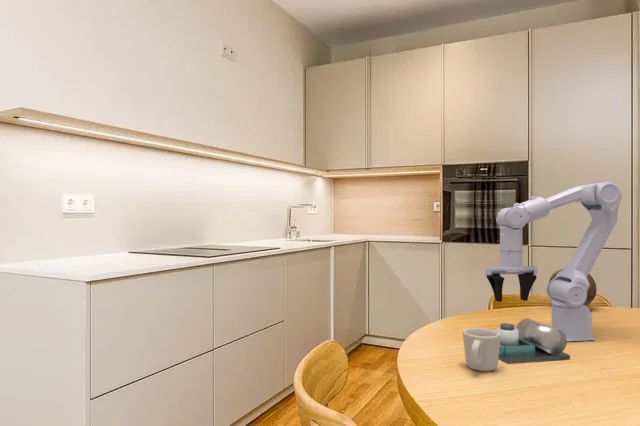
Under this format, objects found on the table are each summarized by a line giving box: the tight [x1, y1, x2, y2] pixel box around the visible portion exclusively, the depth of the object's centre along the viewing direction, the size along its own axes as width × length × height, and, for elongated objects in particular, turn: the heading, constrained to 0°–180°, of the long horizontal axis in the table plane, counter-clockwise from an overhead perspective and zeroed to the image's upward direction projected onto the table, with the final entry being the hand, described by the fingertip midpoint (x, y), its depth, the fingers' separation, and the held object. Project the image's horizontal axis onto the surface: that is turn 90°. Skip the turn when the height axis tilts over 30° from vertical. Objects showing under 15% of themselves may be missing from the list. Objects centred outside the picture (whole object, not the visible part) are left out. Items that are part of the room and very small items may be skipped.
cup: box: [462, 327, 501, 372], centre depth 99 cm, size 11×8×8 cm
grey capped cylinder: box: [495, 322, 519, 346], centre depth 110 cm, size 5×5×6 cm
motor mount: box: [498, 318, 571, 365], centre depth 110 cm, size 16×13×7 cm
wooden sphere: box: [548, 266, 598, 307], centre depth 160 cm, size 15×15×15 cm
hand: (511, 300), depth 123 cm, fingers open, 7 cm apart
